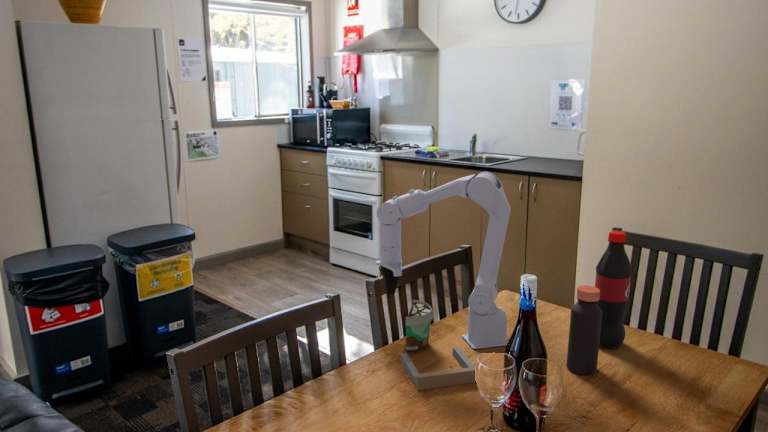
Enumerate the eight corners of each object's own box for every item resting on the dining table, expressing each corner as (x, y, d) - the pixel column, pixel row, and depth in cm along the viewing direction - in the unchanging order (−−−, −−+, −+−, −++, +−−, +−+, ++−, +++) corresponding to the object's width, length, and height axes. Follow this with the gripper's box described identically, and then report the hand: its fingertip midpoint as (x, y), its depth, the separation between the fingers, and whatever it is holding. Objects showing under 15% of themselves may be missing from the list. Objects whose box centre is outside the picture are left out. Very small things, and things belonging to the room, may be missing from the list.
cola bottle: (628, 342, 144) (641, 231, 137) (617, 354, 138) (629, 238, 131) (596, 333, 150) (606, 225, 143) (583, 344, 143) (594, 232, 137)
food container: (429, 357, 136) (430, 319, 134) (405, 355, 137) (405, 317, 135) (435, 335, 148) (436, 300, 146) (412, 333, 149) (413, 298, 147)
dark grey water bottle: (579, 378, 127) (587, 296, 122) (560, 364, 133) (566, 285, 128) (603, 372, 129) (611, 292, 125) (582, 359, 135) (590, 282, 131)
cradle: (458, 354, 138) (458, 342, 137) (480, 381, 125) (481, 369, 125) (400, 361, 134) (400, 349, 134) (417, 390, 122) (417, 377, 121)
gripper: (369, 238, 153) (369, 285, 156) (382, 253, 139) (383, 304, 142) (394, 237, 155) (394, 283, 158) (409, 251, 141) (409, 301, 144)
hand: (390, 293), depth 150 cm, fingers closed
